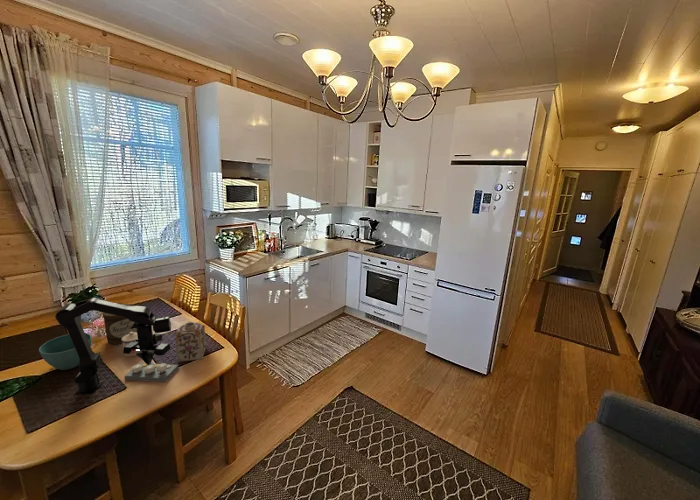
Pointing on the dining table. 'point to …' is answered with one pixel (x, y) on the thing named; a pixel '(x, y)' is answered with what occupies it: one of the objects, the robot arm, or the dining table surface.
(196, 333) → the decorative jar
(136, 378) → the board
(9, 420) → the dining table surface
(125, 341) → the teacup with lid
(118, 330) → the wooden container
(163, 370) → the white lever knob
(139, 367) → the button inner
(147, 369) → the button middle
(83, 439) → the dining table surface
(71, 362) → the teal bowl
